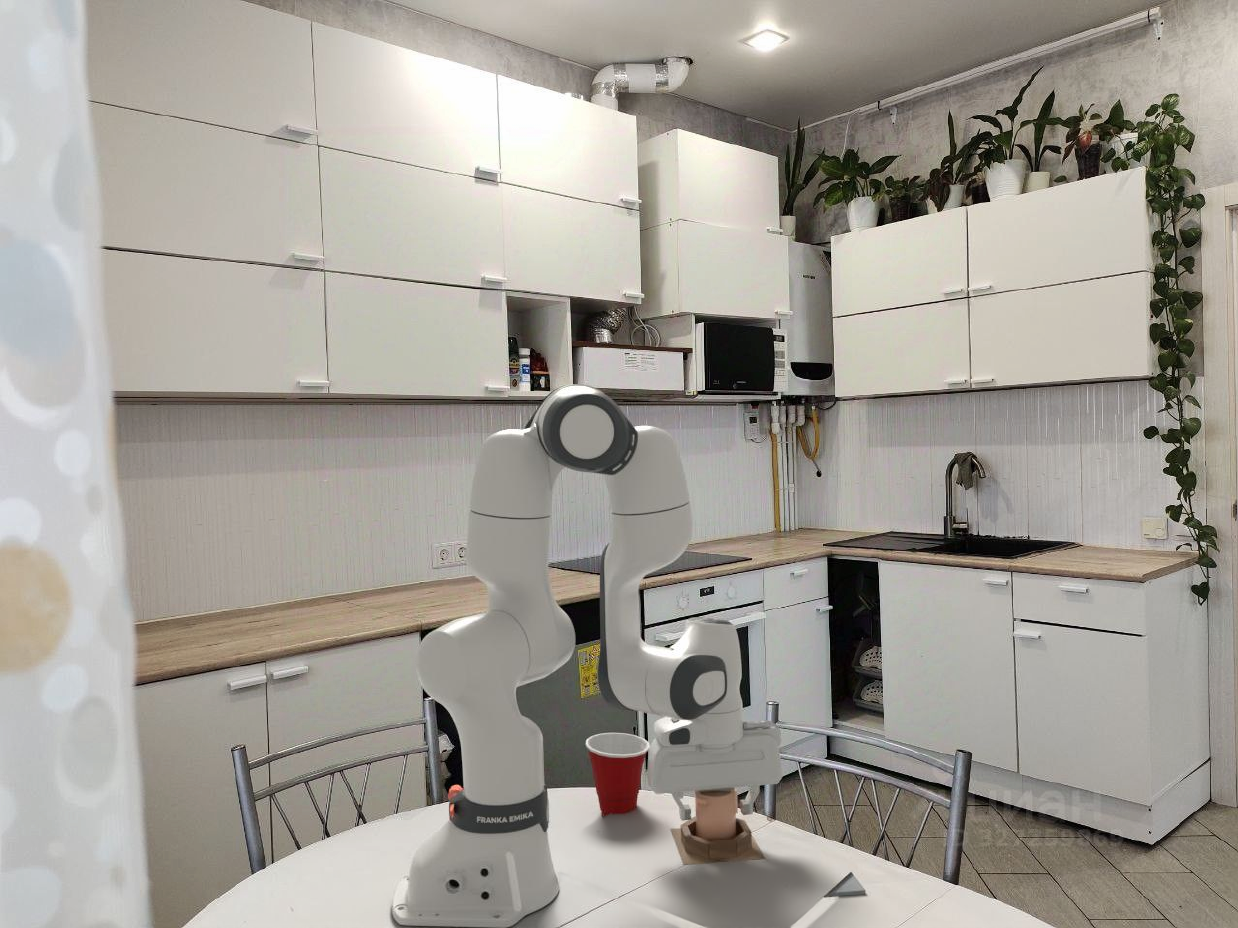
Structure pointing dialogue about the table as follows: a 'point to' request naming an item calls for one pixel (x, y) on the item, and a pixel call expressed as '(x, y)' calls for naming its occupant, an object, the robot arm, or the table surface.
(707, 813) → the jug
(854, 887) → the slate mat
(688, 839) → the holder
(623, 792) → the plastic cup
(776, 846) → the table surface
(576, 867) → the table surface
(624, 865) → the table surface
